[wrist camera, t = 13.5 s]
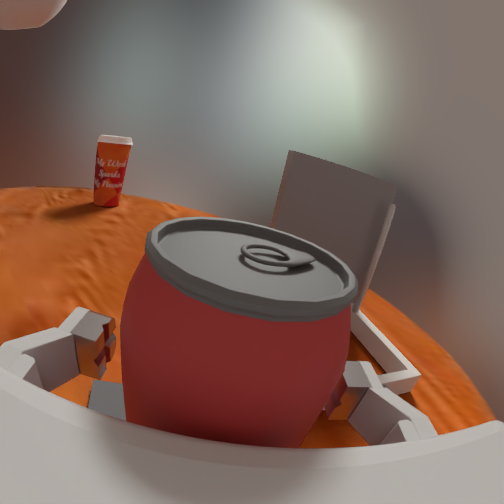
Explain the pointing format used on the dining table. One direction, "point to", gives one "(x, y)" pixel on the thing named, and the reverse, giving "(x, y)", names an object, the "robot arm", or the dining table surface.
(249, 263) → the beer can
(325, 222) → the case
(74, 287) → the dining table surface
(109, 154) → the paper cup
